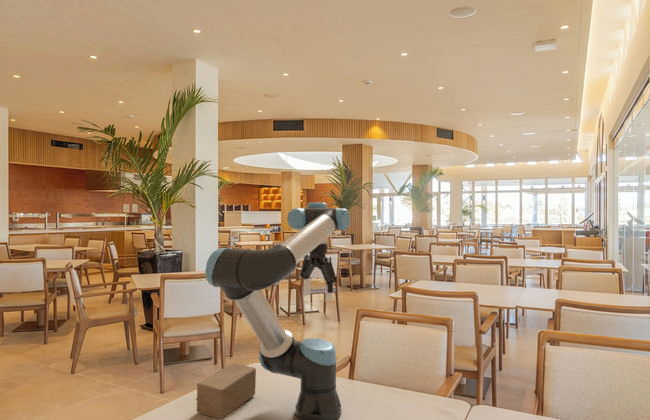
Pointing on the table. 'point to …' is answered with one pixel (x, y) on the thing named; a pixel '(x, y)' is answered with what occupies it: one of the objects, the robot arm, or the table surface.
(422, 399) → the table surface
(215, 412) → the wooden block
